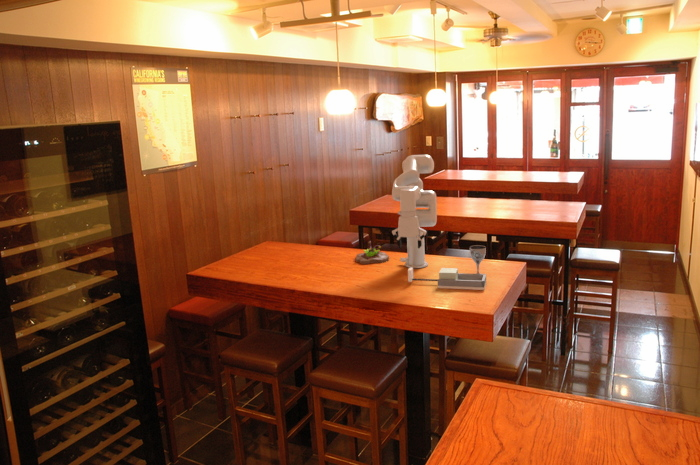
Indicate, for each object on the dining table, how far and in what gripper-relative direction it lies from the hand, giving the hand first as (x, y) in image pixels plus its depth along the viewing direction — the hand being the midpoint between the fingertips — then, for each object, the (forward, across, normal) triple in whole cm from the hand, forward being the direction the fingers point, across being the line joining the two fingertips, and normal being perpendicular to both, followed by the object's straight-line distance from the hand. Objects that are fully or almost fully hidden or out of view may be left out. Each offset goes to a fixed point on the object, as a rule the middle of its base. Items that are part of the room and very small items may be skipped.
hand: (409, 247), depth 282 cm
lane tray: (+18, +26, -1) cm, 31 cm away
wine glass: (+19, +32, +16) cm, 40 cm away
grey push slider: (+17, +11, -1) cm, 20 cm away
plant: (+20, -32, +41) cm, 56 cm away
